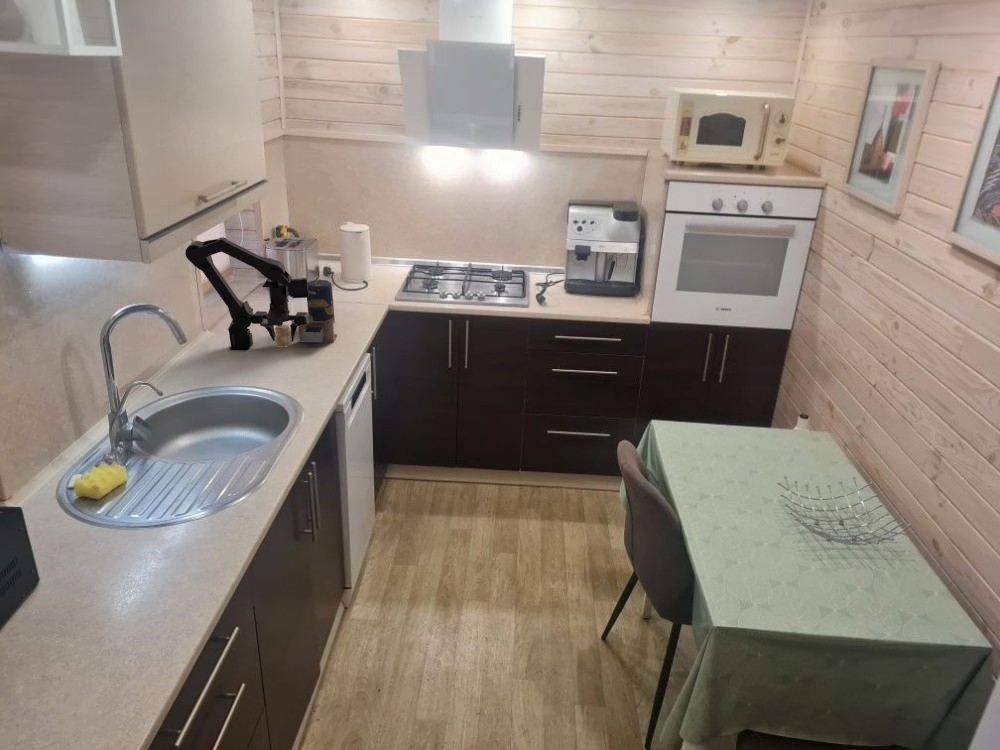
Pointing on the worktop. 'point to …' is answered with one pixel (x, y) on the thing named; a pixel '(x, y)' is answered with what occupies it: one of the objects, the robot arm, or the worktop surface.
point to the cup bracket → (317, 331)
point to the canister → (320, 301)
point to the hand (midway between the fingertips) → (283, 340)
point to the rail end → (282, 335)
